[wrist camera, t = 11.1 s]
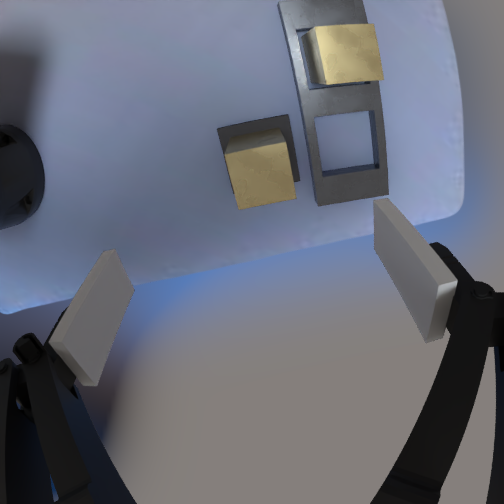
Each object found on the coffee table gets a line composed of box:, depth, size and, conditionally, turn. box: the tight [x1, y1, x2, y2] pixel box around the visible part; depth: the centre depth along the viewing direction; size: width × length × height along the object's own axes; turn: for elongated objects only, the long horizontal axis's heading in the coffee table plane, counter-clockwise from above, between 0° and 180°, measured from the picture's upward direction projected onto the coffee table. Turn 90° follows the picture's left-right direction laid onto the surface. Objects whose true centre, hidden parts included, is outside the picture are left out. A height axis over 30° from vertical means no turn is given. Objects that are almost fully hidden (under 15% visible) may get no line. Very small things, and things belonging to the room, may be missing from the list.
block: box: [301, 24, 384, 85], centre depth 26 cm, size 6×6×8 cm
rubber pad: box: [217, 114, 300, 194], centre depth 35 cm, size 8×8×1 cm
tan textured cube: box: [224, 128, 297, 210], centre depth 32 cm, size 6×6×8 cm
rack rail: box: [277, 0, 389, 206], centre depth 31 cm, size 9×24×2 cm, turn 12°
